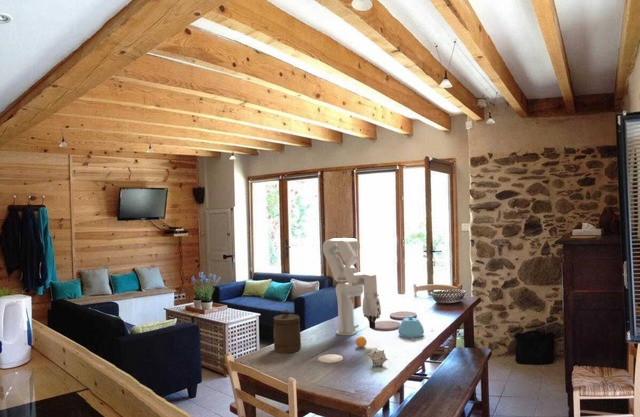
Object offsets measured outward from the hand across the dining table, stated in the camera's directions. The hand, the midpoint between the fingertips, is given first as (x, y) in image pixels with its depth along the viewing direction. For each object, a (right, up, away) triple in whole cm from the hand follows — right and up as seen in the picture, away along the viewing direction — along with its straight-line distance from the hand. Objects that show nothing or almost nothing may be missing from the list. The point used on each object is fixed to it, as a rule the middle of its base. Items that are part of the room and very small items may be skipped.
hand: (372, 327), depth 275 cm
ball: (-7, -6, -6) cm, 11 cm away
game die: (-1, -10, -37) cm, 38 cm away
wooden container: (-48, -11, -5) cm, 49 cm away
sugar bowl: (+25, -8, +15) cm, 30 cm away
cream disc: (-24, -10, -24) cm, 35 cm away
